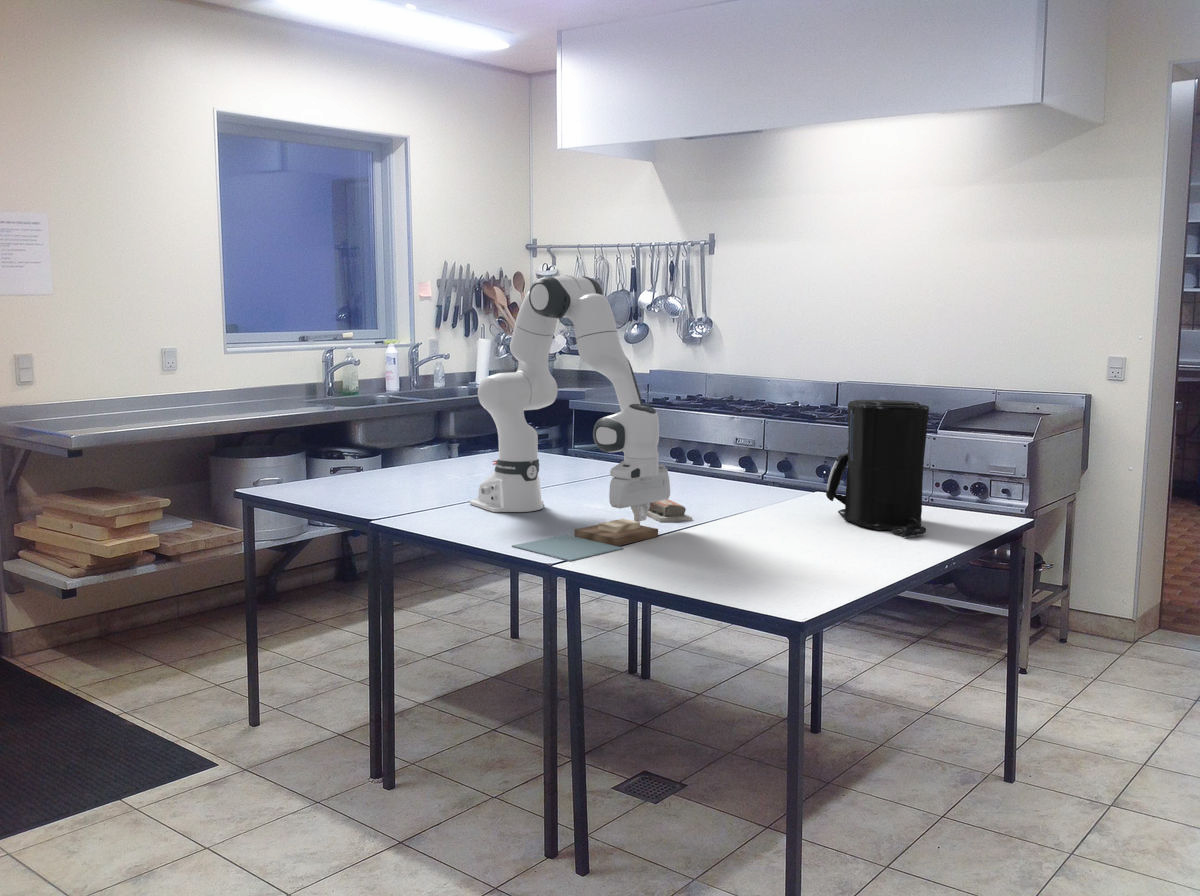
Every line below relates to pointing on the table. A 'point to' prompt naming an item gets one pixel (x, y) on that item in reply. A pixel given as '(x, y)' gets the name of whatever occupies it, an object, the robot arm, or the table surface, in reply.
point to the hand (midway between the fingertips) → (640, 520)
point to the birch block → (619, 525)
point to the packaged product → (667, 511)
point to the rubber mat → (567, 547)
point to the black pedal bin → (883, 466)
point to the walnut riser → (616, 535)
